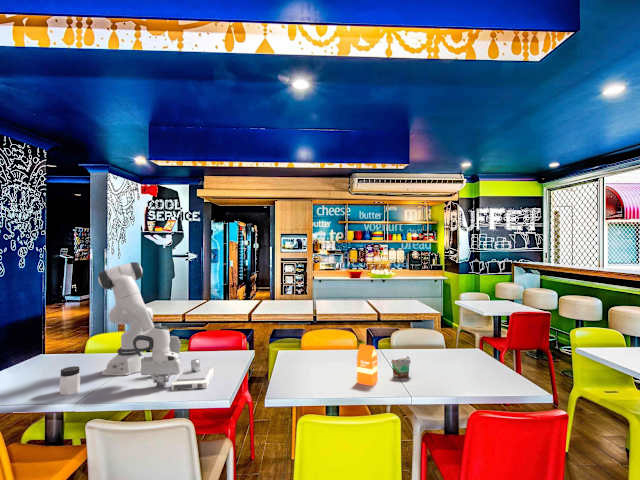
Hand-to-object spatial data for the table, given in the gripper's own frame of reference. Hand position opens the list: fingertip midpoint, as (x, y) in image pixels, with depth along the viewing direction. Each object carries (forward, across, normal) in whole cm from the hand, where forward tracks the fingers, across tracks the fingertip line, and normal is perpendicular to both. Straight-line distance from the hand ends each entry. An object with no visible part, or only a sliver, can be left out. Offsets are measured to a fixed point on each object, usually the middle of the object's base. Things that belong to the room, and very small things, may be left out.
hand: (161, 382), depth 193 cm
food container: (+2, +133, -7) cm, 133 cm away
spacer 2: (-2, +16, +9) cm, 19 cm away
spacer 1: (+2, 0, 0) cm, 2 cm away
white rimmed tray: (+2, +16, +4) cm, 17 cm away
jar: (+2, -45, -1) cm, 45 cm away
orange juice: (+2, +111, -11) cm, 112 cm away
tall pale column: (+2, 0, +20) cm, 20 cm away
